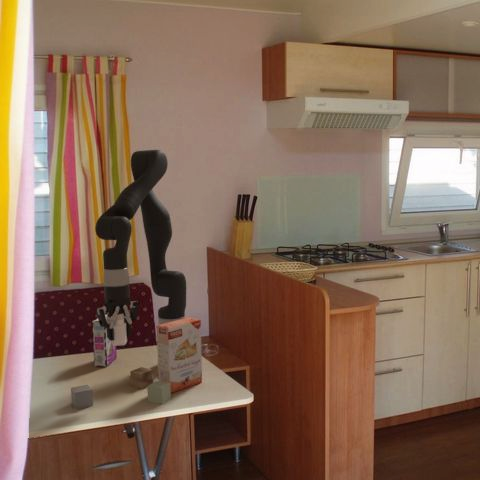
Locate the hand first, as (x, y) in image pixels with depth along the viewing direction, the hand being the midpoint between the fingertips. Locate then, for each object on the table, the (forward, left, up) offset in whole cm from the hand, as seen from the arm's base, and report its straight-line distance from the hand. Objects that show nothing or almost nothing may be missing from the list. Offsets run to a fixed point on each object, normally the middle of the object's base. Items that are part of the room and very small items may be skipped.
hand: (119, 337), depth 201 cm
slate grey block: (+12, -3, -18) cm, 22 cm away
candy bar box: (-15, -34, -19) cm, 41 cm away
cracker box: (-18, +6, -19) cm, 27 cm away
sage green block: (-6, +11, -18) cm, 22 cm away
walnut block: (-10, -4, -18) cm, 21 cm away
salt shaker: (0, 0, -2) cm, 2 cm away
